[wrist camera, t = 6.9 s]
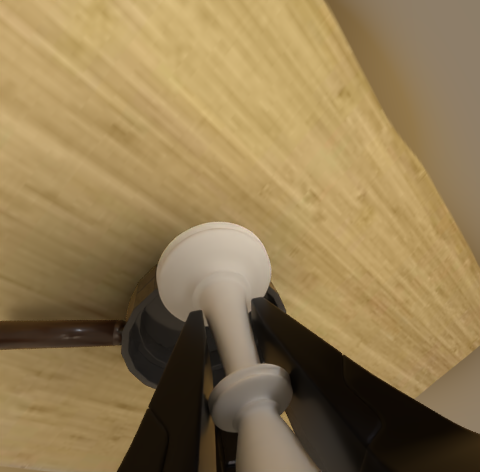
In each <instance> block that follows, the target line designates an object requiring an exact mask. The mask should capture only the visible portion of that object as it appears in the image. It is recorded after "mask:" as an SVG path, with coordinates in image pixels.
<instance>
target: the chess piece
mask: <svg viewBox="0 0 480 472" xmlns="http://www.w3.org/2000/svg"><path fill="white" fill-rule="evenodd" d="M156 279H157V285H158V291H159V295H160V298H161V300H162V302H163V304H164V306H165V307H166V308H167V310H168V311H169V312H170V313H171V314H173V315H174V316H175V317H177V318H178V319H180V320H182V321H184V322H186V320H187V317H188V315H189V313H190V312H191V311H196V310H202V312H203V318H204V324H205V326H209V328H210V331H211V334H212V336H213V339H214V342H215V345H216V348H217V350H218V353H219V356H220V359H221V363H222V366H223V369H224V372H225V375H226V377H225V378H223V379H222V380H221V381H220V382H219V383H218V384H217V385H216V386H215V388H214V389H213V390H212V392H211V394H210V396H209V399H208V408H209V413H210V415H211V417H212V420H213V422H214V424H215V425H216V426H217V427H218V428H220V429H222V430H224V431H227V432H238V440H237V452H236V472H322V471H321V470H320V469H319V468H318V467H317V465H316V464H315V463H314V461H313V460H312V459H311V457H310V456H309V455H308V453H307V452H306V451H305V449H304V448H303V446H302V445H301V443H300V441H299V440H298V438H297V436H296V435H295V434H294V433H293V431H292V430H291V429H290V428H289V426H288V425H287V424H286V423H285V421H284V420H283V419H282V418H281V417H280V415H281V414H282V413H283V412H284V411H285V410H286V408H287V407H288V405H289V404H290V402H291V399H292V395H293V389H292V386H291V378H290V375H289V374H288V372H287V371H286V370H285V369H283V368H282V367H280V366H277V365H273V364H261V363H260V359H259V355H258V351H257V347H256V344H255V340H254V335H253V331H252V327H251V322H250V318H249V312H250V311H251V299H253V298H257V297H264V295H265V293H266V291H267V289H268V287H269V284H270V279H271V264H270V260H269V257H268V255H267V252H266V249H265V247H264V245H263V244H262V242H261V241H260V239H259V238H258V237H257V236H256V235H255V234H254V233H252V232H251V231H250V230H248V229H246V228H244V227H242V226H240V225H237V224H233V223H228V222H209V223H204V224H200V225H197V226H194V227H192V228H190V229H188V230H186V231H184V232H183V233H181V234H180V235H178V236H177V237H176V238H175V239H173V240H172V241H171V242H170V244H169V245H168V246H167V247H166V249H165V250H164V252H163V253H162V255H161V257H160V260H159V262H158V266H157V272H156Z"/></svg>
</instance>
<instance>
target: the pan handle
mask: <svg viewBox="0 0 480 472" xmlns="http://www.w3.org/2000/svg"><path fill="white" fill-rule="evenodd" d="M124 322H125V320H45V321H0V350H10V349H39V348H67V347H96V346H116V345H122V330H123V326H124ZM131 334H132V329H131V331H130V339H131Z"/></svg>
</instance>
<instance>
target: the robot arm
mask: <svg viewBox="0 0 480 472" xmlns="http://www.w3.org/2000/svg"><path fill="white" fill-rule="evenodd" d="M251 316H252V322H253V326H254V329H255V332H256V336H257V339H258V342H259V346H260V349H261V352H262V356H263V359H264V362H265V364H273V365H277V366H280V367H282V368H283V369H285V370H286V371H287V372H288V374H289V375H290V378H291V386H292V389H293V395H292V399H291V402H290V404H289V405H288V407H287V408H286V410H285V412H286V414H287V416H288V419H289V421H290V423H291V426H292V428H293V430H294V433H295V435H296V436H297V438H298V440H299V441H300V443H301V445H302V446H303V448H304V449H305V451H306V452H307V453H308V455H309V456H310V457H311V459H312V460H313V461H314V463H315V464H316V465H317V467H318V468H319V469H320V470H321V471H322V472H480V434H478V433H476V432H473V431H471V430H468V429H466V428H464V427H462V426H460V425H457V424H456V423H453V422H452V421H450V420H448V419H446V418H445V417H443V416H441V415H440V414H438V413H436V412H435V411H433V410H431V409H430V408H428V407H426V406H424V405H423V404H421V403H419V402H418V401H416V400H414V399H413V398H411V397H409V396H408V395H406V394H404V393H403V392H401V391H399V390H397V389H396V388H394V387H392V386H391V385H389V384H388V383H386V382H384V381H383V380H381V379H380V378H378V377H376V376H375V375H373V374H372V373H370V372H369V371H367V370H366V369H364V368H363V367H361V366H360V365H358V364H357V363H355V362H354V361H352V360H351V359H350V358H348V357H347V356H345V355H342V353H341V352H340V351H338V350H337V349H335V348H334V347H333V346H331V345H330V344H328V343H327V342H326V341H324V340H323V339H321V338H320V337H318V336H317V335H316V334H314V333H313V332H311V331H310V330H309V329H307V328H306V327H304V326H303V325H302V324H300V323H299V322H297V321H296V320H295V319H293V318H292V317H290V316H289V315H287V314H286V313H285V312H283V311H282V310H280V309H279V308H278V307H276V306H275V305H273V304H272V303H271V302H269V301H268V300H266V299H265V298H263V297H257V298H253V299H251ZM212 390H213V376H212V368H211V362H210V355H209V349H208V343H207V336H206V330H205V324H204V318H203V312H202V310H196V311H191V312H190V313H189V315H188V317H187V320H186V322H185V324H184V326H183V329H182V331H181V333H180V335H179V338H178V340H177V342H176V345H175V347H174V349H173V351H172V354H171V356H170V358H169V361H168V363H167V365H166V367H165V370H164V372H163V374H162V377H161V379H160V381H159V383H158V386H157V388H156V390H155V393H154V395H153V397H152V399H151V402H150V404H149V409H147V410H146V413H145V415H144V417H143V420H142V422H141V424H140V426H139V428H138V431H137V433H136V435H135V437H134V439H133V441H132V443H131V445H130V448H129V450H128V451H127V453H126V455H125V457H124V459H123V461H122V463H121V465H120V467H119V469H118V470H117V472H236V452H237V440H238V432H227V431H224V430H222V429H220V428H218V427H217V426H216V425H215V424H214V422H213V420H212V417H211V415H210V413H209V408H208V399H209V396H210V394H211V392H212Z"/></svg>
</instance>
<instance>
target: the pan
mask: <svg viewBox="0 0 480 472" xmlns="http://www.w3.org/2000/svg"><path fill="white" fill-rule="evenodd" d="M157 266H158V264H157V265H155V266H154V267H153V268H152V269H151V270H150V271H149V272H148V273H147V274H146V275H145V276H144V277H143V278H142V279H141V280H140V281H139V282H138V284H137V287H136V289H135V291H134V293H133V295H132V297H131V299H130V301H129V305H128V309H127V314H126V318H125V322H124V326H123V330H122V346H121V354H122V356H123V358H124V360H125V363H126V365H127V367H128V369H129V371H130V372H131V373H132V374H133V375H134V376H135V377H137V378H138V379H139V380H140V381H141V382H142V383H143V384H145V385H147V386H149V387H152V388H154V389H156V388H157V386H158V383H159V381H160V379H161V377H162V374H163V372H164V370H165V367H166V365H167V363H168V361H169V358H170V356H171V354H172V351H173V349H174V347H175V345H176V342H177V340H178V338H179V335H180V333H181V331H182V329H183V326H184V324H185V322H184V321H182V320H180V319H178V318H177V317H175V316H174V315H173V314H171V313H170V312H169V311H168V310H167V308H166V307H165V306H164V304H163V302H162V300H161V298H160V295H159V291H158V285H157V279H156V272H157ZM263 298H265V299H266V300H268V301H269V302H271V303H272V304H273V305H275V306H276V307H278V308H279V309H280V310H282V311H283V312H285V313H286V309H285V307H284V305H283V303H282V300H281V298H280V296H279V294H278V292H277V291H276V289H275V287H274V286H273V284H272V282H271V281H270V284H269V287H268V289H267V291H266V293H265V295H264V297H263ZM249 318H250V322H251V327H252V331H253V335H254V340H255V344H256V347H257V351H258V355H259V359H260V363H261V364H265V362H264V359H263V356H262V352H261V349H260V346H259V342H258V339H257V336H256V332H255V329H254V326H253V322H252V316H251V311H250V312H249ZM131 329H132V334H131V339H130V331H131ZM205 330H206V336H207V343H208V349H209V355H210V362H211V368H212V376H213V389H214V388H215V386H216V385H217V384H218V383H219V382H220V381H221V380H222V379H223V378H225V377H226V375H225V372H224V369H223V366H222V363H221V359H220V356H219V353H218V350H217V348H216V345H215V342H214V339H213V336H212V334H211V331H210V328H209V326H205Z"/></svg>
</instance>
